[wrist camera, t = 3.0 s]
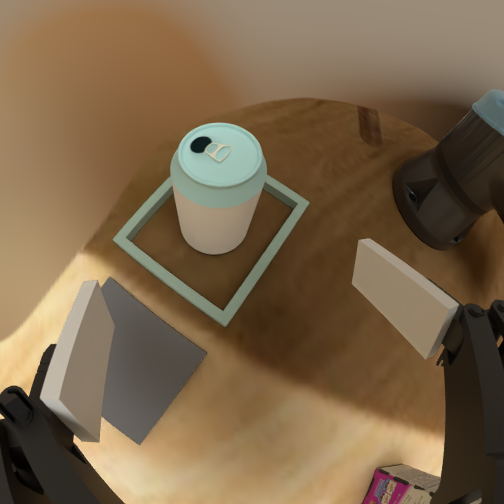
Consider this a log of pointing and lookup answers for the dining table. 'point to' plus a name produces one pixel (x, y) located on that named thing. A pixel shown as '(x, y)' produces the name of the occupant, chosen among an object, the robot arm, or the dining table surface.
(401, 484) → the candy bar box
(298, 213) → the corral
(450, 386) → the robot arm
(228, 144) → the can
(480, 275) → the dining table surface
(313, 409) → the dining table surface
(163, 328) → the coaster
